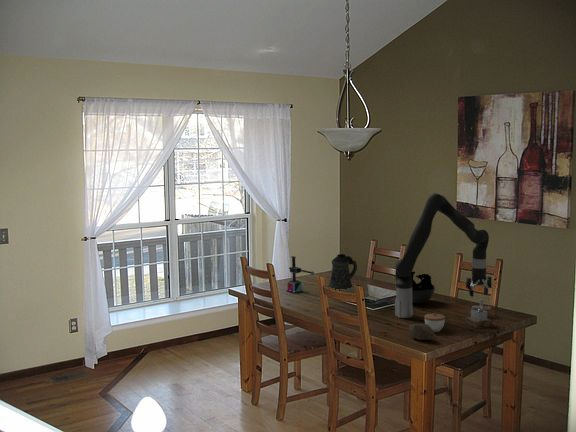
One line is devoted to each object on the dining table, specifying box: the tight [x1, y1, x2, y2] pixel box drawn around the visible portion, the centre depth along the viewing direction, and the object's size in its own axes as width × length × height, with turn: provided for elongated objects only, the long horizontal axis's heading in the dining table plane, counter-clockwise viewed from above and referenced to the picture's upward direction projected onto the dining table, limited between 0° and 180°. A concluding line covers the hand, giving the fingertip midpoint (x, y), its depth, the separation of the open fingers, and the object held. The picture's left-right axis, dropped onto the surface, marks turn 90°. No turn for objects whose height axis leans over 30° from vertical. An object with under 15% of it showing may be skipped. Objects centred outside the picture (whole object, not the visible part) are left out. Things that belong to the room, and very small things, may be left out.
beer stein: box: [328, 253, 358, 291], centre depth 433 cm, size 16×19×25 cm
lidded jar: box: [424, 312, 446, 333], centre depth 339 cm, size 11×11×9 cm
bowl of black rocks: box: [412, 271, 436, 304], centre depth 394 cm, size 20×20×19 cm
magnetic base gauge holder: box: [285, 255, 315, 294], centre depth 431 cm, size 25×9×24 cm, turn 39°
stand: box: [463, 316, 495, 329], centre depth 347 cm, size 11×11×3 cm
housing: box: [470, 307, 488, 322], centre depth 346 cm, size 8×5×6 cm, turn 17°
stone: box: [407, 322, 436, 341], centre depth 325 cm, size 17×9×8 cm, turn 40°
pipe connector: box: [471, 298, 491, 311], centre depth 362 cm, size 10×10×10 cm
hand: (478, 295), depth 345 cm, fingers open, 8 cm apart
